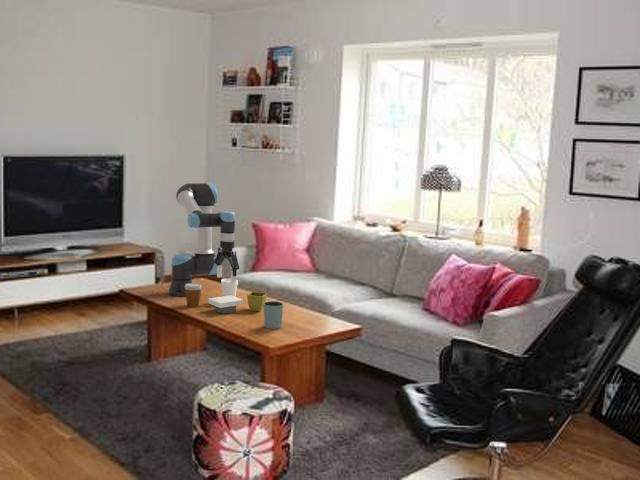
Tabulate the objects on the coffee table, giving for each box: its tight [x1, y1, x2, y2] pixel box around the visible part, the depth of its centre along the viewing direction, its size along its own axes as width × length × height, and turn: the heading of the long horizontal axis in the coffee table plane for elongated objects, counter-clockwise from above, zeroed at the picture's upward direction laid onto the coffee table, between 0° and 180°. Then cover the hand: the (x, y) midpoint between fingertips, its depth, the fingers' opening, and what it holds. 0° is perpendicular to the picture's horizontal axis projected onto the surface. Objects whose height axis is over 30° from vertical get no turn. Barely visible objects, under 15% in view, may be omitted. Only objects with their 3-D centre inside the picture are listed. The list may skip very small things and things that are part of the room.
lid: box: [207, 295, 245, 308], centre depth 392 cm, size 12×15×2 cm
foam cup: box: [220, 277, 239, 297], centre depth 409 cm, size 10×9×13 cm
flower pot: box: [246, 291, 267, 312], centre depth 397 cm, size 9×9×9 cm
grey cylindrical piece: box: [262, 300, 284, 330], centre depth 366 cm, size 10×10×12 cm
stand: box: [214, 305, 237, 314], centre depth 392 cm, size 8×8×4 cm
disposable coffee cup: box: [184, 282, 203, 308], centre depth 399 cm, size 10×10×12 cm
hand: (226, 279), depth 390 cm, fingers open, 13 cm apart
